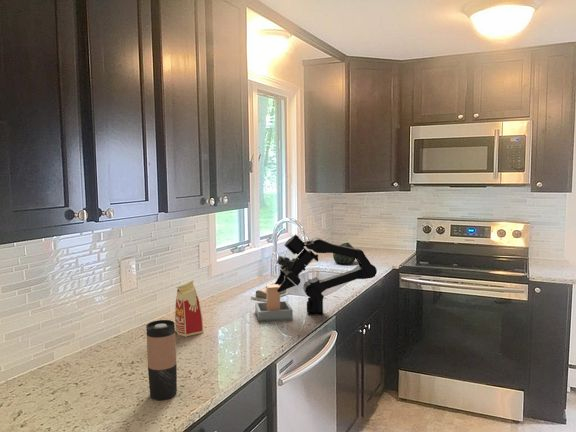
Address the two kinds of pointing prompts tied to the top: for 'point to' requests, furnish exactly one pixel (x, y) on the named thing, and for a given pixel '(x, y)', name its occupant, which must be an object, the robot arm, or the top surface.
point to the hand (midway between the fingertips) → (276, 288)
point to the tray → (273, 312)
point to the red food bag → (188, 311)
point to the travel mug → (162, 359)
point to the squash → (343, 258)
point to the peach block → (273, 297)
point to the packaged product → (262, 294)
